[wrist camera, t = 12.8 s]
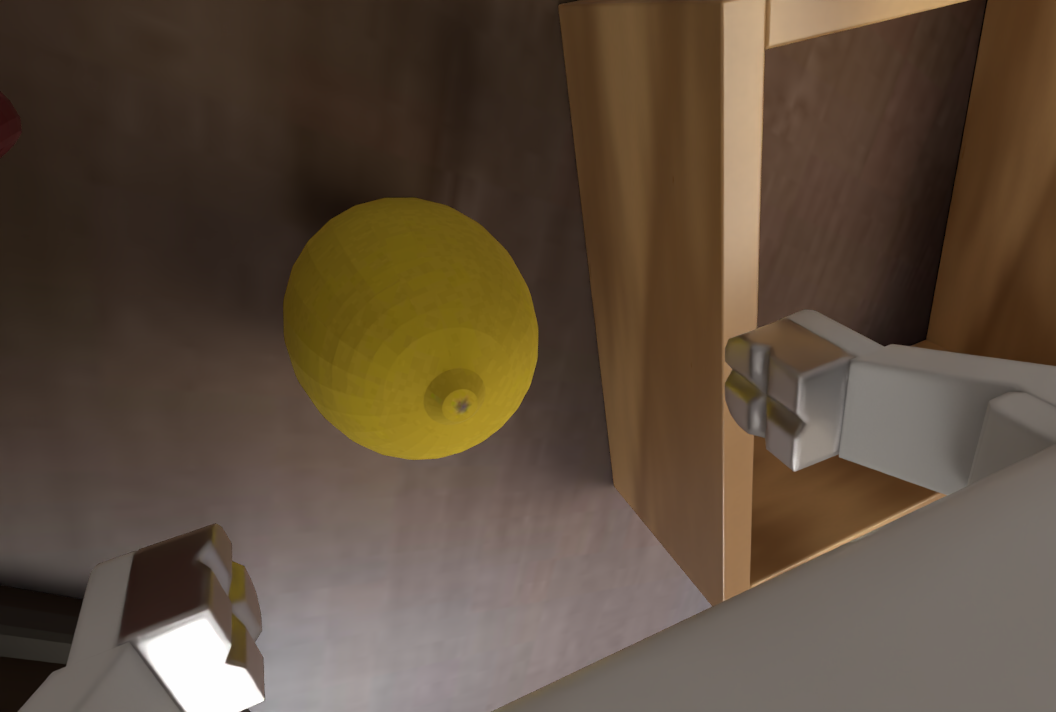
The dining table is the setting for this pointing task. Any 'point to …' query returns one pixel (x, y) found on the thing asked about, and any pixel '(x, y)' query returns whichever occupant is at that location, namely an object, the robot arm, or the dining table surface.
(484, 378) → the lemon
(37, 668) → the wooden barrel
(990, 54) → the crate
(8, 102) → the mug
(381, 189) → the dining table surface
